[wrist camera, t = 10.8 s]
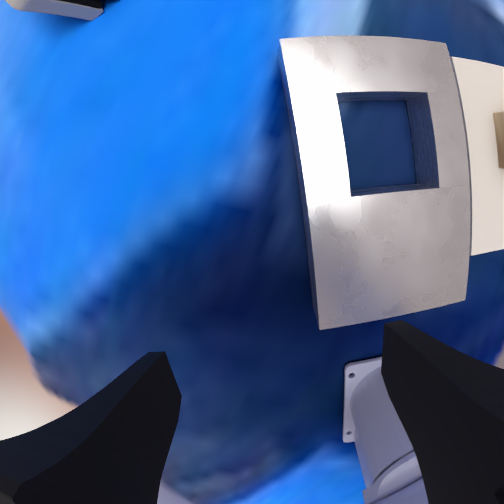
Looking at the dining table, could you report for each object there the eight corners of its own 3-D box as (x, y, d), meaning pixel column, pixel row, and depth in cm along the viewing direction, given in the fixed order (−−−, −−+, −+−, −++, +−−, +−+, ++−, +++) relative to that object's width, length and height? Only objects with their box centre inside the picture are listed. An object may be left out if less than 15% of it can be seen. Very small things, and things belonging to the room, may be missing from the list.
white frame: (444, 283, 19) (465, 300, 16) (312, 307, 20) (319, 330, 17) (424, 55, 15) (445, 43, 12) (277, 56, 16) (279, 39, 13)
